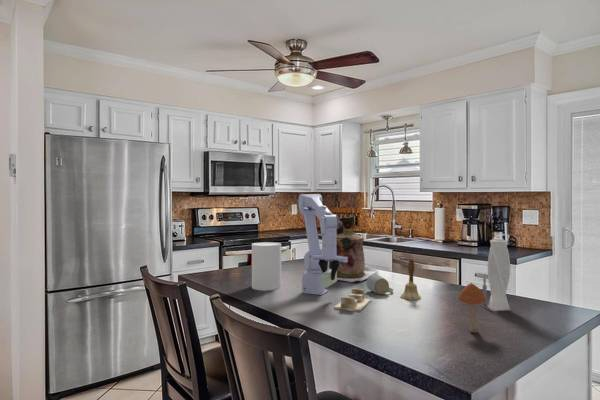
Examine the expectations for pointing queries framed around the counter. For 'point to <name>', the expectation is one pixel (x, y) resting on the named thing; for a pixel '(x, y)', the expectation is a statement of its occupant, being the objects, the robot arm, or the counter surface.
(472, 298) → the mushroom
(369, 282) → the ceramic mug
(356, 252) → the cookie jar
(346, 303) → the display stand
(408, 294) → the hand bell
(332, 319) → the counter surface
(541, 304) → the counter surface
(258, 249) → the canister
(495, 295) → the white twisted vase
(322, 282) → the glasses case
